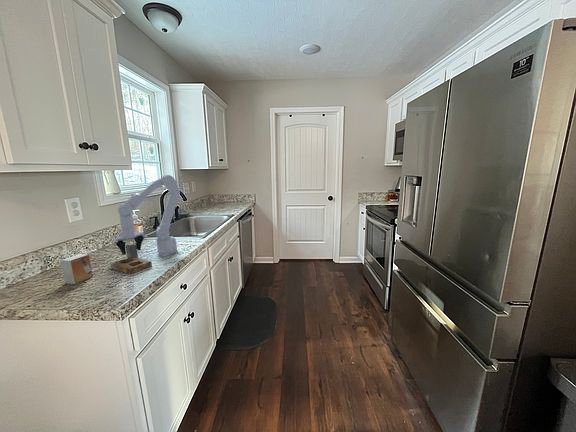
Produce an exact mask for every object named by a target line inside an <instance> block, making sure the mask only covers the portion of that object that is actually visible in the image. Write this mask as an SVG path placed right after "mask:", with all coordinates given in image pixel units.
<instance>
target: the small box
mask: <svg viewBox="0 0 576 432" xmlns="http://www.w3.org/2000/svg"><path fill="white" fill-rule="evenodd" d="M59 262H60V263H59V264H60V266H61V267H60V268H61V272H62V277H63V282H64V284H69V285H76V284H78V283H81V282H83V281H85V280H88V279H90V278H92V277H94V276H93V269H92V263H91V260H90V254H86V253H85V254H83V253H79V254H78V253H77V254H76V255H73V256H70V257H66V258H64V259H60V260H59Z"/></svg>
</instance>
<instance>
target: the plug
mask: <svg viewBox="0 0 576 432" xmlns="http://www.w3.org/2000/svg"><path fill="white" fill-rule="evenodd" d="M125 250H126V258H129V257H135V258H138V257H139V255H138V250H137V247H136V243H133V242H131V243H127V244H125Z"/></svg>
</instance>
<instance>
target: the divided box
mask: <svg viewBox="0 0 576 432" xmlns="http://www.w3.org/2000/svg"><path fill="white" fill-rule="evenodd" d="M151 268H153V264H152V260H147V259H143V258H135V257H129V258H127V257H126V258H124V259H120V260H117V261H114V262H111V263H110V269H112V270H115V271H119V272H122V273H125V274H129V275H130V276H132V275H135V274H138V273H140V272H143V271H146V270H148V269H151Z"/></svg>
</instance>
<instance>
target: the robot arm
mask: <svg viewBox="0 0 576 432" xmlns="http://www.w3.org/2000/svg"><path fill="white" fill-rule="evenodd" d="M164 187H165V188H166V189H167V190H168V192H169V196H168V199H167V202H166V205H165V208H164V211H163V214H162V216H161V217H162V218H161V221H160V222H159V225H158V226H157V228H156V230H155V232H156V234H155V235H156V238H155V240H156V249H157V253H155V254H154V256H155V255H156V256H158V257H159V256H160V257H165V256H166V257H167V256H168V255H172V254H175V253H176V252H178V245H177V240H176V238H175V237H174V236H170V228H171V223H172V219H173V215H174V213H175V210H176V208H177V204H178V200H179V198H180V194H181V192H180V188H179V186H178V183H177V180H176V179H175V178H174V176H172V175H170V174H165V175H162V176H161V177H159V178H158V179H155V180H154V181H153V182H152V183H151V184H150V185H148V186H147V187H146V188H145V189H143V191H142V192H140V193H133V194H131V197H129V198H128V199H127V200H124V201H123V204H121V205H120V206H118V208H117V212H118V214H119V222H120V228H121V234H122V235H121V236H118V237H114V238H112V240H113V243H114V244H115V245H116V246H117V247H118V249H119V250H120V253H121V254H122V255H123V256H125V255H126V256H127V252H126V241H128V240H131V239H134V242H135V244H136V247H137V251H141V250H142V249H141V248H142V245H143V244H142V243H143V241H144V240H145V237H144V236H145V232H144V231H141V232H136V229H135V223H134V217H133V213H132V212H133V211H134V210H136V209H138V208H139V207H140V206H141V205H143V203H145V201H146V198H147V197H148V196H149V195H151V194H152V193H153V192H154V191H156V190H157V189H160V188H164Z"/></svg>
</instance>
